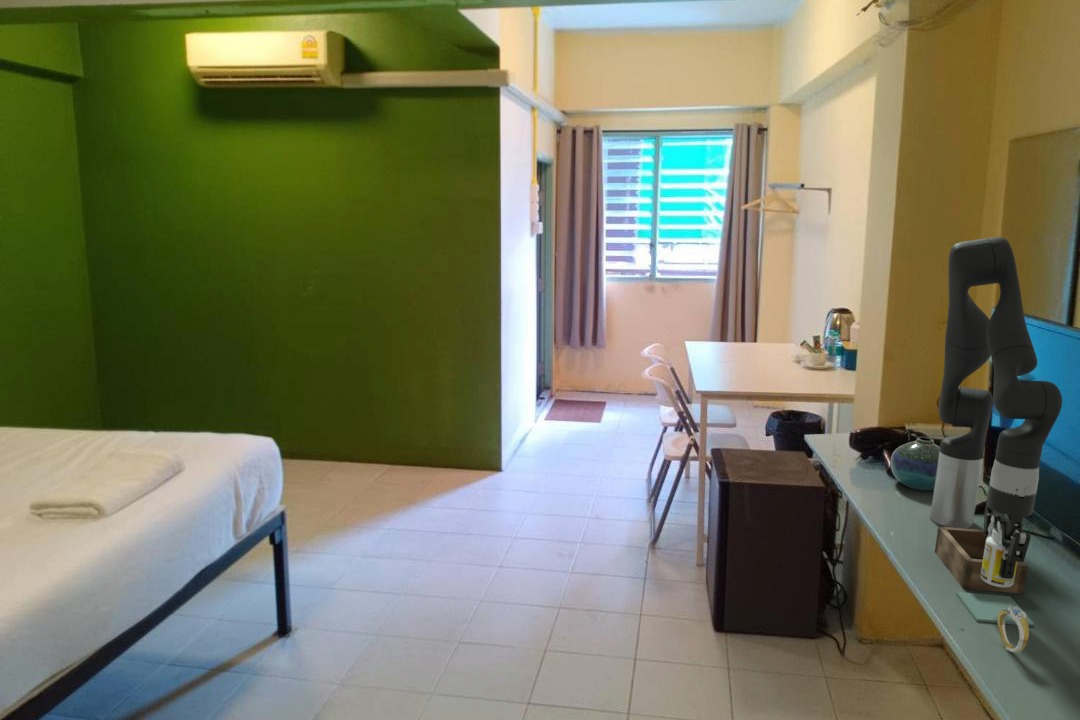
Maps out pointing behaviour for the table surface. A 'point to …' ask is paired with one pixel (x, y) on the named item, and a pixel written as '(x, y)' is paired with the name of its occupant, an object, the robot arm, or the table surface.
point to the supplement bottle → (994, 562)
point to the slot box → (956, 554)
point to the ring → (1023, 631)
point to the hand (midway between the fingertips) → (998, 569)
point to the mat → (989, 607)
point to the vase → (916, 463)
